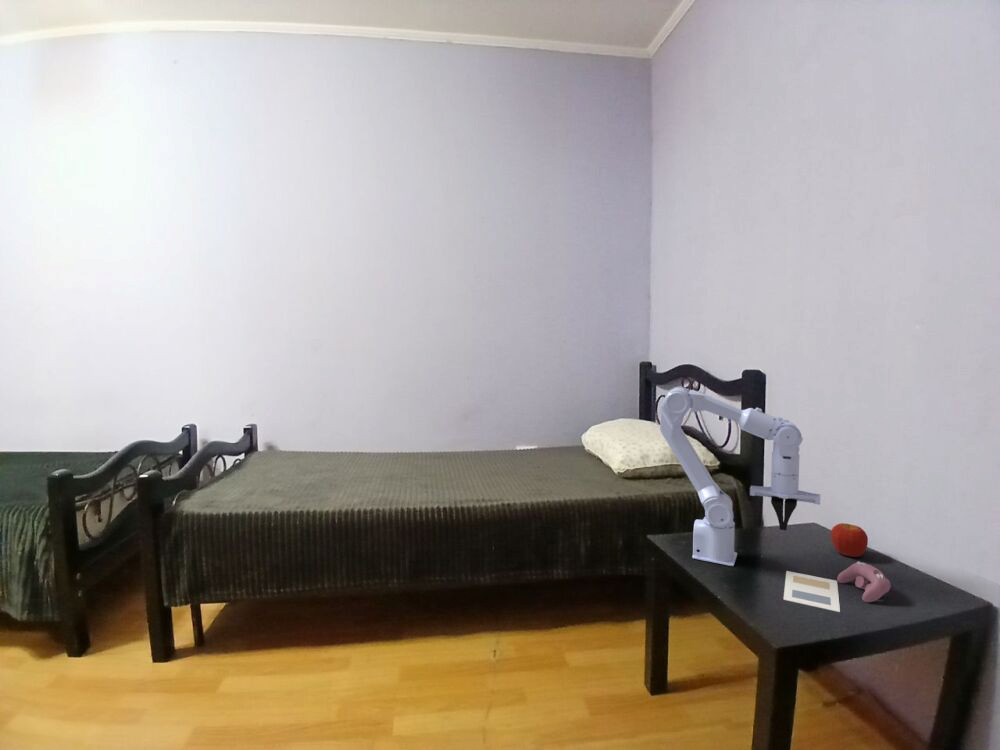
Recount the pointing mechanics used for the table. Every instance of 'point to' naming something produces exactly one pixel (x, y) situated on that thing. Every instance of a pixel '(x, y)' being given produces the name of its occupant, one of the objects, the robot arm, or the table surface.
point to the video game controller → (866, 580)
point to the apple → (849, 539)
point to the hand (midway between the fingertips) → (783, 528)
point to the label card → (811, 591)
